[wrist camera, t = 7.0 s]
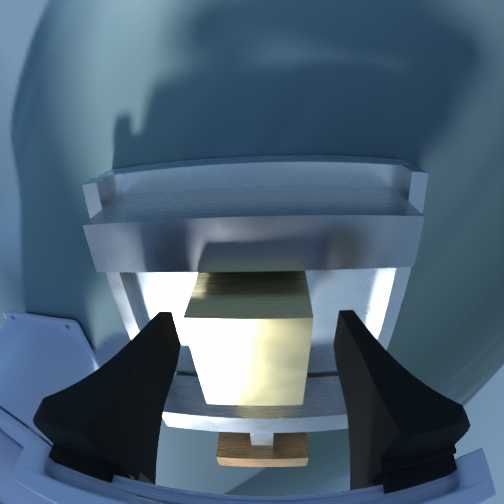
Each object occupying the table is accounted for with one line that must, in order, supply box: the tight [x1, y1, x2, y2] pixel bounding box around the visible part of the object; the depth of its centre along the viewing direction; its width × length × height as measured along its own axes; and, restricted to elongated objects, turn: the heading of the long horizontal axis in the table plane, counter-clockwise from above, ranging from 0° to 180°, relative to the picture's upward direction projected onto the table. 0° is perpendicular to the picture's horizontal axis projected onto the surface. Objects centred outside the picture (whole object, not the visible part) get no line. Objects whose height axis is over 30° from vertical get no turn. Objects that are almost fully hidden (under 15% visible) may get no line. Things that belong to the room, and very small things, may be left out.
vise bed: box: [82, 155, 428, 378], centre depth 15 cm, size 14×16×5 cm
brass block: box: [183, 271, 313, 406], centre depth 12 cm, size 4×5×5 cm
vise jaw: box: [162, 375, 348, 467], centre depth 19 cm, size 12×9×3 cm
